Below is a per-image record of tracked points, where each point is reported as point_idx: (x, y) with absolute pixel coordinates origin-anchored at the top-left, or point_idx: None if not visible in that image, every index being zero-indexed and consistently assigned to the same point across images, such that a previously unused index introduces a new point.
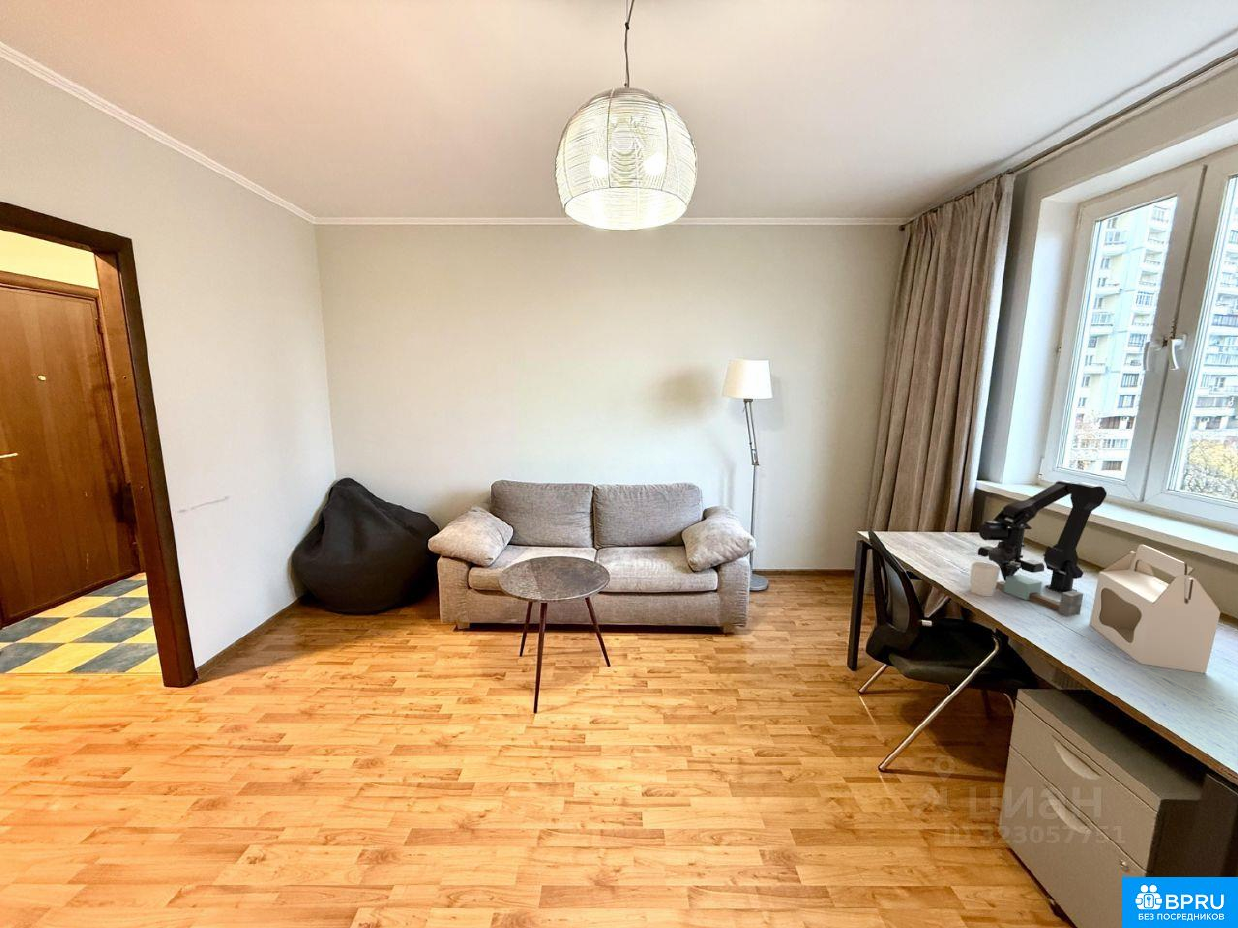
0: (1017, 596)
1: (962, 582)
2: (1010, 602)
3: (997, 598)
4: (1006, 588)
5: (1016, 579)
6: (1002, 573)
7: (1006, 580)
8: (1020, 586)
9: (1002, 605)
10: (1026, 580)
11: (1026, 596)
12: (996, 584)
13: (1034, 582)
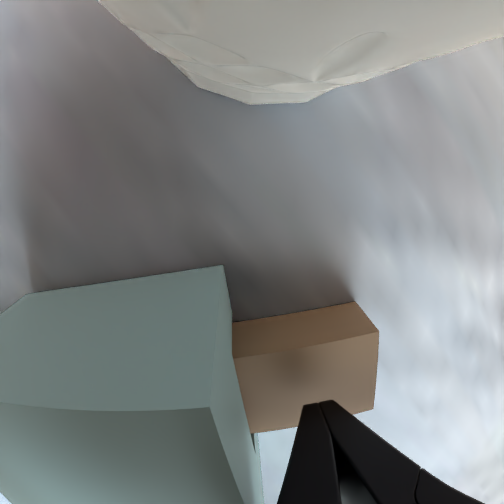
0: (84, 287)
1: (490, 70)
2: (14, 108)
3: (99, 44)
4: (191, 286)
5: (52, 437)
6: (391, 457)
7: (194, 350)
8: (3, 350)
9: (5, 3)
10: (51, 498)
11: (8, 311)
12: (116, 16)
13: (15, 498)
